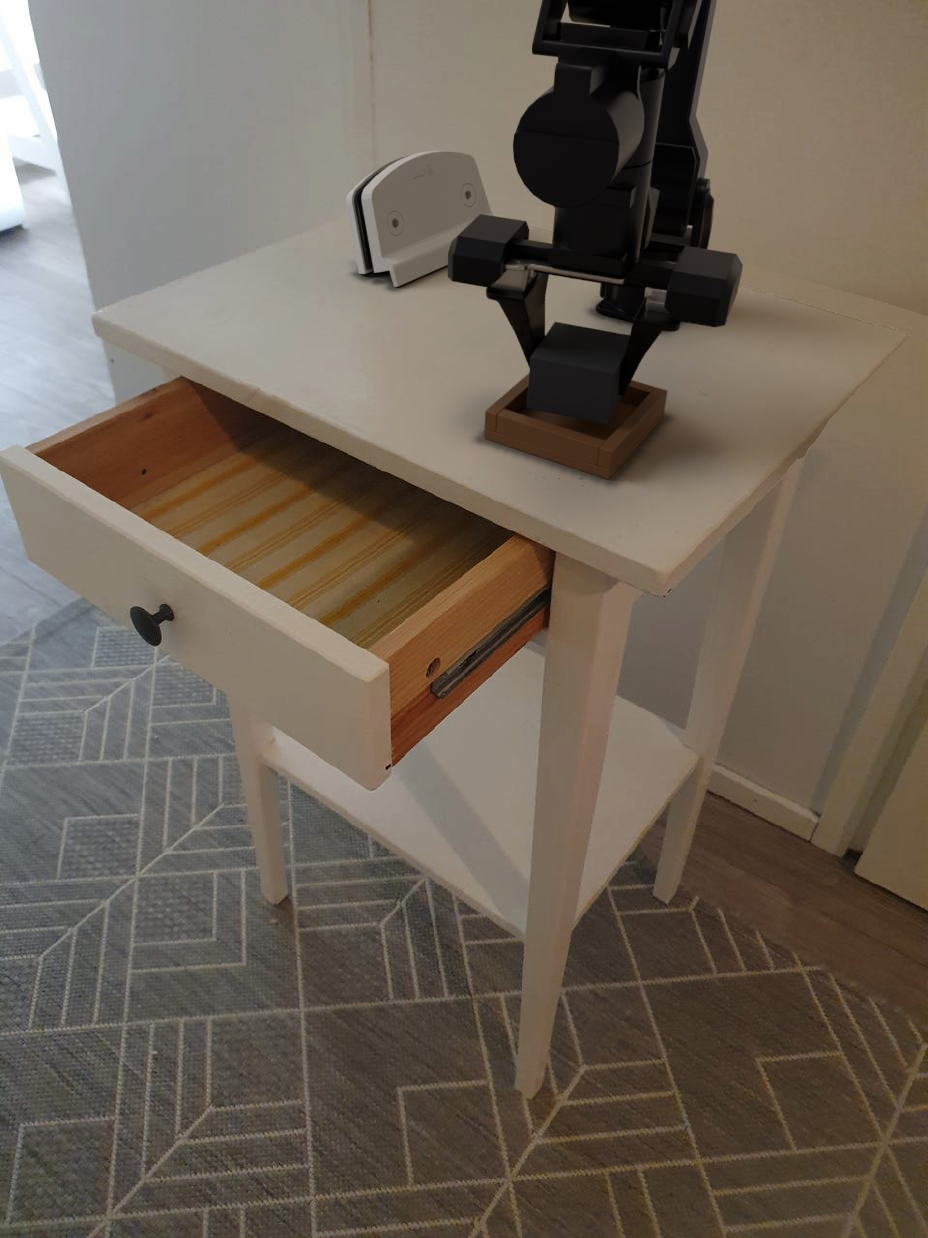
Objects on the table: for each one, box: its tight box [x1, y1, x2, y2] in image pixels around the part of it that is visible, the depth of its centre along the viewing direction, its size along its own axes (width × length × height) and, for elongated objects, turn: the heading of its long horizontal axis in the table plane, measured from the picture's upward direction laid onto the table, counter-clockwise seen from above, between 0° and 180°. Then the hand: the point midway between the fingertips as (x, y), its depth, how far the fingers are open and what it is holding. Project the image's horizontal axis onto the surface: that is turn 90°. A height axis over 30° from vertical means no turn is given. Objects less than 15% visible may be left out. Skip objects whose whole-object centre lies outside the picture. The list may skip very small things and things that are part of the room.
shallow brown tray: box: [483, 373, 669, 480], centre depth 71 cm, size 10×10×2 cm
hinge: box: [345, 150, 496, 288], centre depth 94 cm, size 17×5×10 cm, turn 140°
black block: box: [527, 321, 630, 425], centre depth 69 cm, size 6×6×4 cm
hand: (579, 384), depth 70 cm, fingers closed on black block, 6 cm apart
